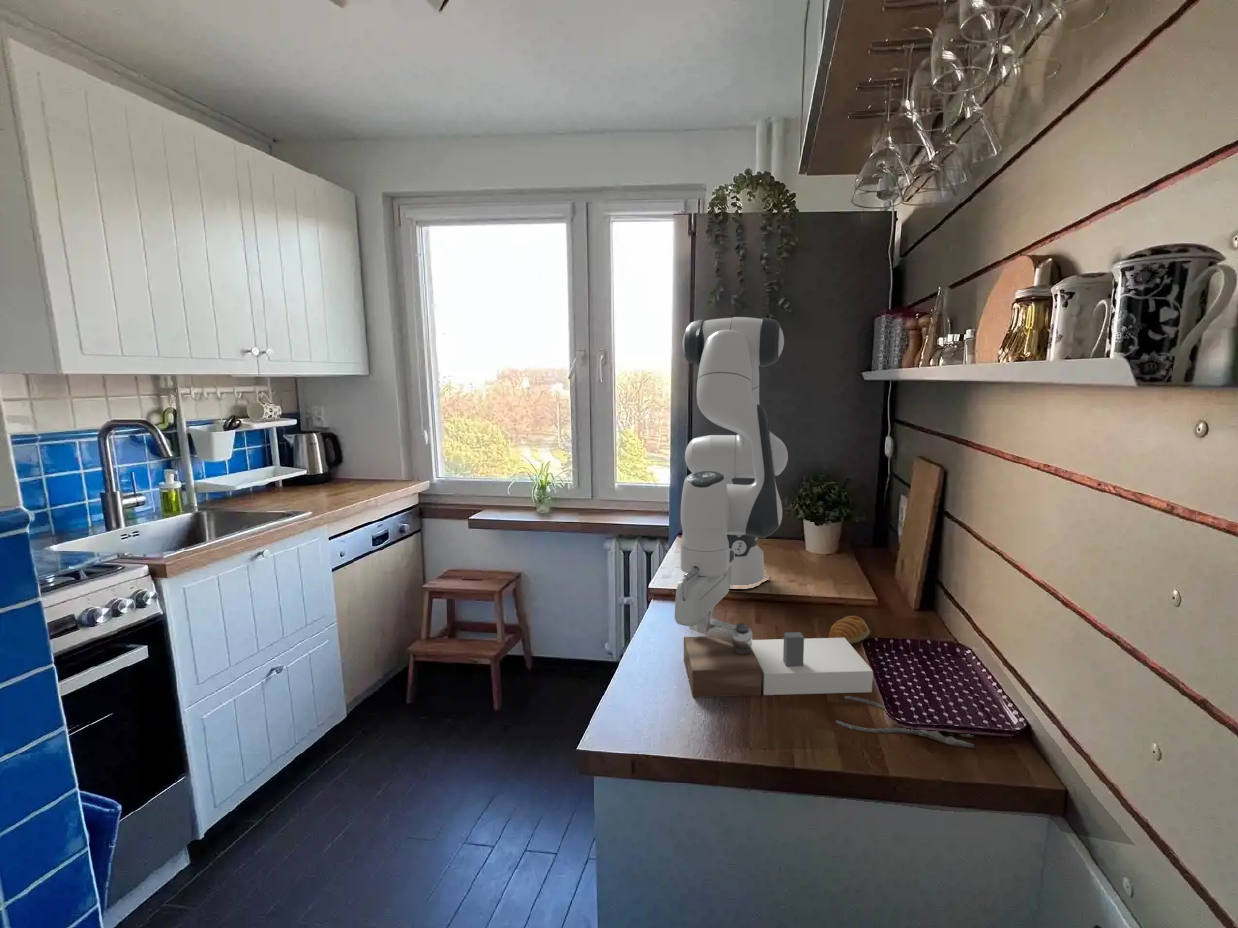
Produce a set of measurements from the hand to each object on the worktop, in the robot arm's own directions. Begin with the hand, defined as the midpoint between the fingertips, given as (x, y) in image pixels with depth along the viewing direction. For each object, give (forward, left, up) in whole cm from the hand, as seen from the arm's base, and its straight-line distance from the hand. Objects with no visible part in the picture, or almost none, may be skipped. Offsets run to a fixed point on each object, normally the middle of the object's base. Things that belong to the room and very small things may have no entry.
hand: (703, 630), depth 114 cm
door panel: (+3, +19, -8) cm, 20 cm away
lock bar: (0, +3, -1) cm, 4 cm away
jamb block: (+3, +3, -8) cm, 9 cm away
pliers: (+18, +29, -8) cm, 35 cm away
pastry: (-12, +33, -8) cm, 36 cm away
